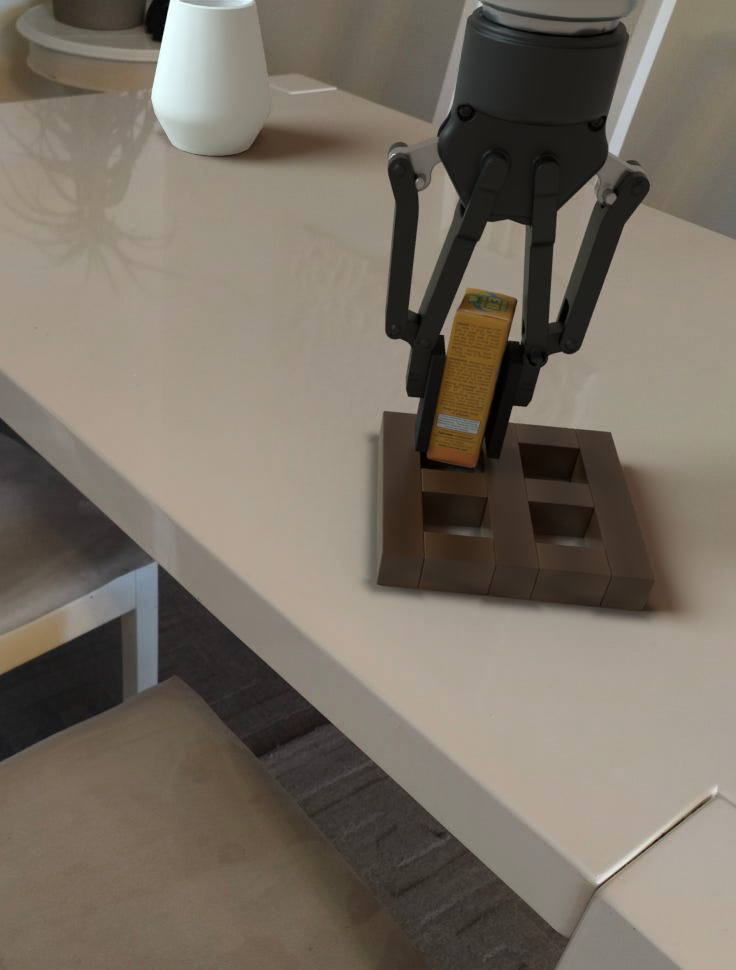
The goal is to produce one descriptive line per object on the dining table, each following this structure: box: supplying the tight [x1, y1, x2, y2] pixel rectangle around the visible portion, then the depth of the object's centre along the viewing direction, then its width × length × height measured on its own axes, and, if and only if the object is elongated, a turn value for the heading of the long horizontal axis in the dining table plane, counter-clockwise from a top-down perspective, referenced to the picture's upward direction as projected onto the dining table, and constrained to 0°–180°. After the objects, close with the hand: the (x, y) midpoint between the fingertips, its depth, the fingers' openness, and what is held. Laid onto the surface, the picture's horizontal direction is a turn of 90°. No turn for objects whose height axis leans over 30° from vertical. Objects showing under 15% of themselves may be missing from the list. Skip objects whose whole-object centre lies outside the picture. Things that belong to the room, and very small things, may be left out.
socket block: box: [375, 410, 656, 612], centre depth 61 cm, size 15×15×3 cm
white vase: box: [150, 0, 273, 157], centre depth 106 cm, size 13×13×14 cm
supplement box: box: [427, 287, 518, 468], centre depth 59 cm, size 3×3×10 cm
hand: (456, 442), depth 62 cm, fingers closed on supplement box, 4 cm apart
